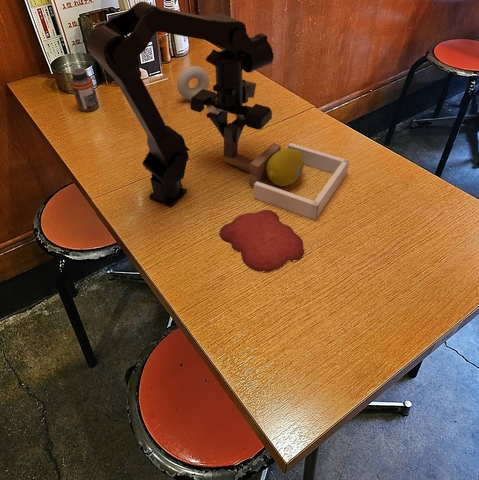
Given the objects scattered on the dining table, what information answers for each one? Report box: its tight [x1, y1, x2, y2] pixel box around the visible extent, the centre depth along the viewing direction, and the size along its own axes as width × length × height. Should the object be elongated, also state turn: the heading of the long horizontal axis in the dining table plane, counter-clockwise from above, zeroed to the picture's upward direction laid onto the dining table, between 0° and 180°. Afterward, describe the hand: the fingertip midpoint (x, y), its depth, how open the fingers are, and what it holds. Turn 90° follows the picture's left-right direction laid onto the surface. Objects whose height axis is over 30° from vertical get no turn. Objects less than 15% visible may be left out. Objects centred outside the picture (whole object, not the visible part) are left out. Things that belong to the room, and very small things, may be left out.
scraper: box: [222, 122, 282, 187], centre depth 107 cm, size 10×12×10 cm
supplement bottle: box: [70, 67, 100, 113], centre depth 130 cm, size 6×6×11 cm
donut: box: [176, 65, 210, 101], centre depth 133 cm, size 10×4×10 cm, turn 117°
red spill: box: [218, 209, 305, 272], centre depth 94 cm, size 18×14×2 cm
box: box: [253, 142, 350, 221], centre depth 105 cm, size 18×15×4 cm
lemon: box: [266, 148, 305, 187], centre depth 105 cm, size 11×8×8 cm
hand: (231, 140), depth 109 cm, fingers closed on scraper, 3 cm apart
